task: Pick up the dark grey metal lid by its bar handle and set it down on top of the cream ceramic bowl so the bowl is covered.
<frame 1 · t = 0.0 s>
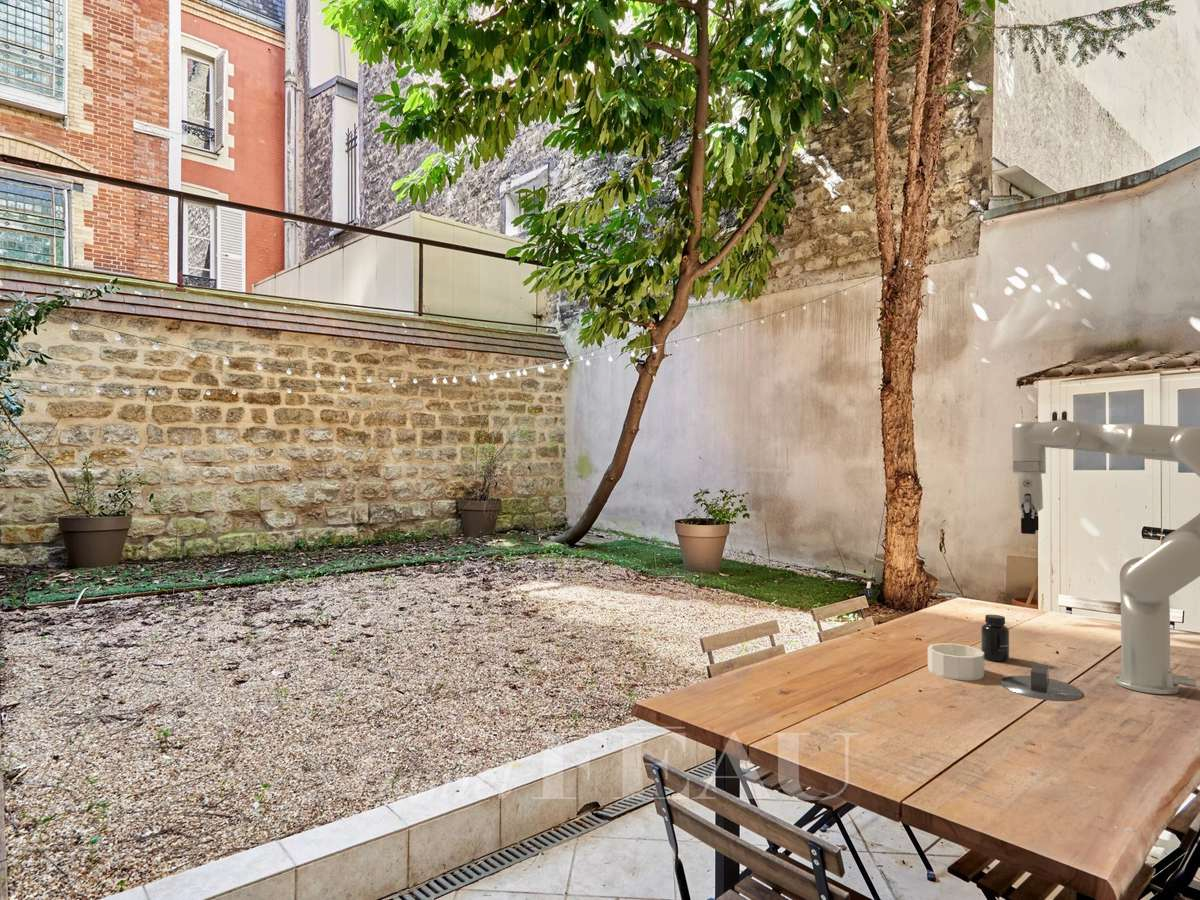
hand: (1029, 531, 184), 37 cm above the table, tool pointing down, fingers open, 9 cm apart
bowl: (955, 672, 182), on the table
lid: (1040, 690, 169), on the table
supplement bottle: (995, 659, 193), on the table
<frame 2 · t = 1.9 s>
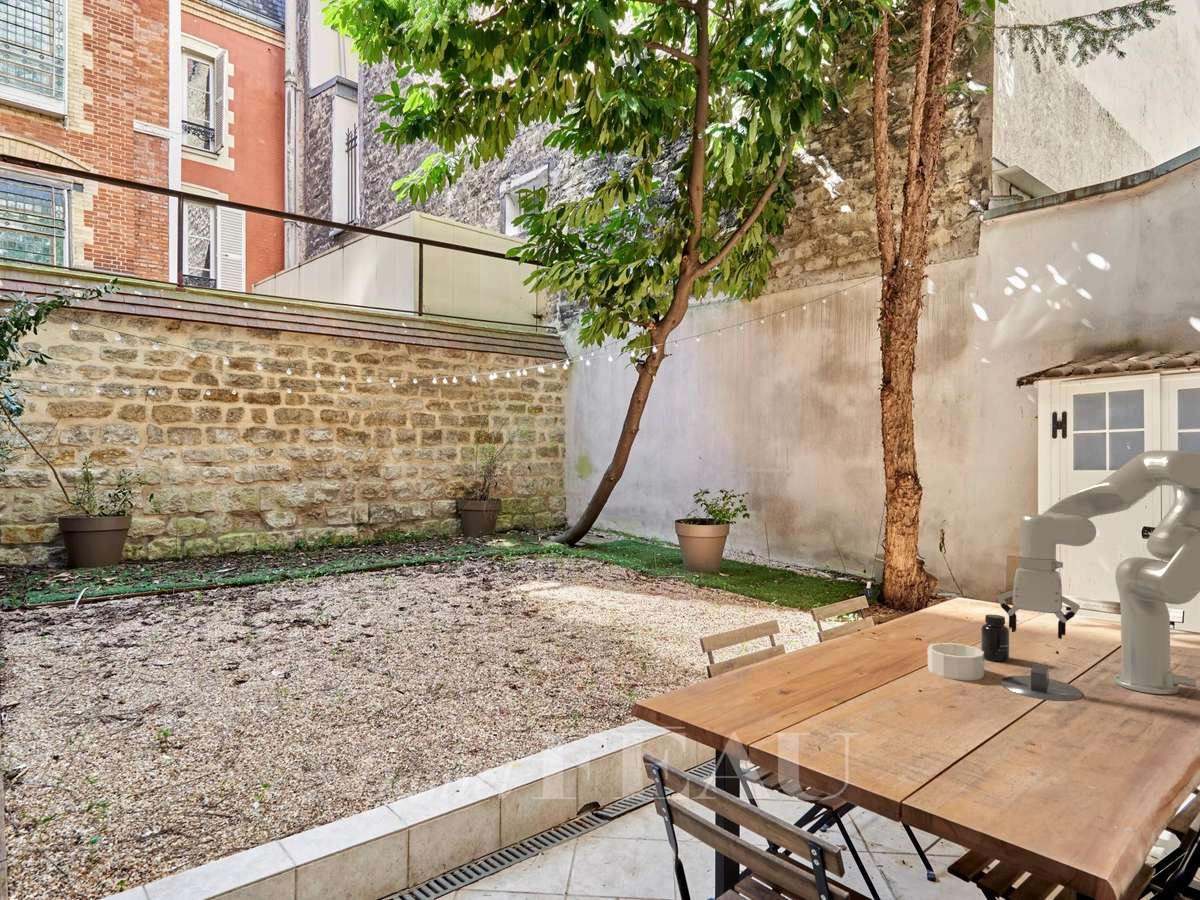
hand: (1036, 634, 169), 13 cm above the table, tool pointing down, fingers open, 9 cm apart
nothing on the table moved.
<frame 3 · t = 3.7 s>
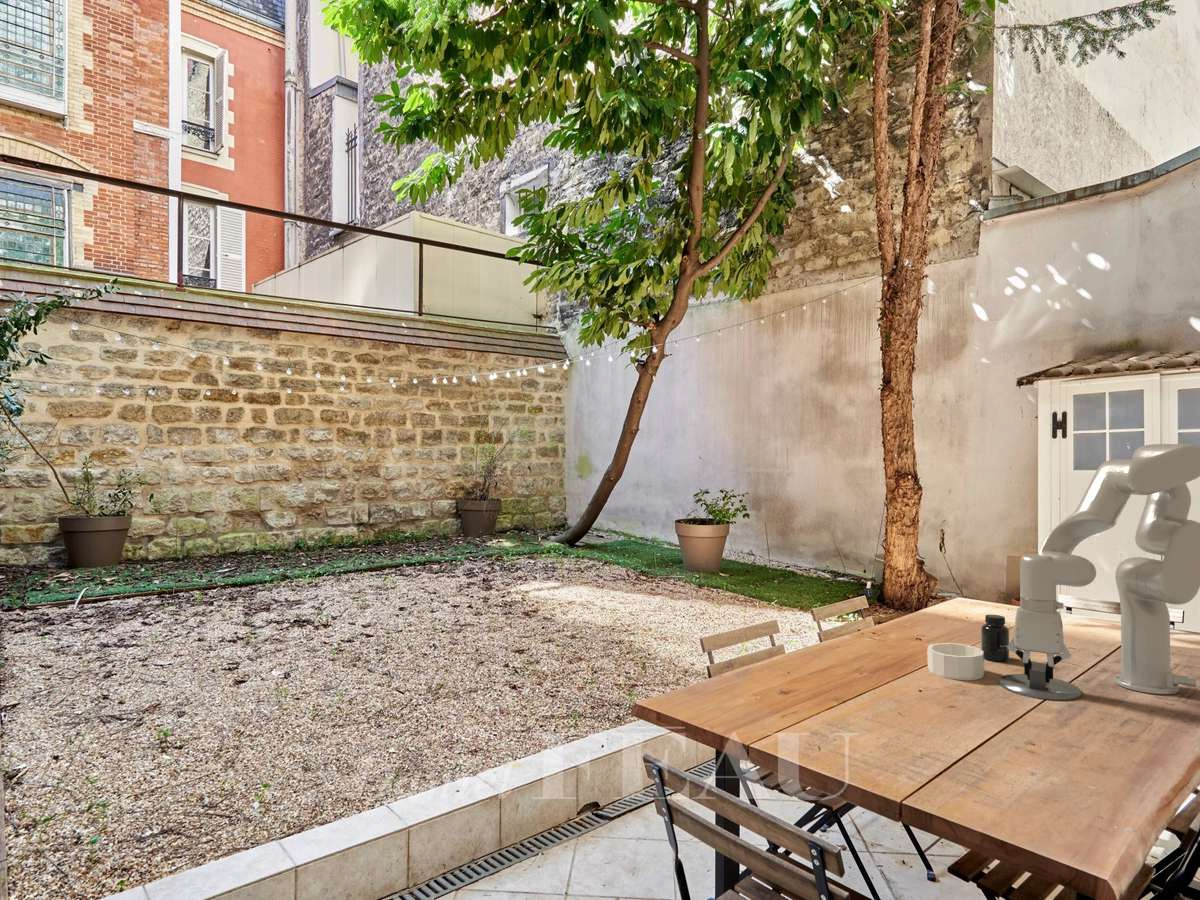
hand: (1038, 679, 169), 2 cm above the table, tool pointing down, fingers closed on lid, 3 cm apart
lid: (1038, 688, 169), on the table, touching gripper
everything else where it was.
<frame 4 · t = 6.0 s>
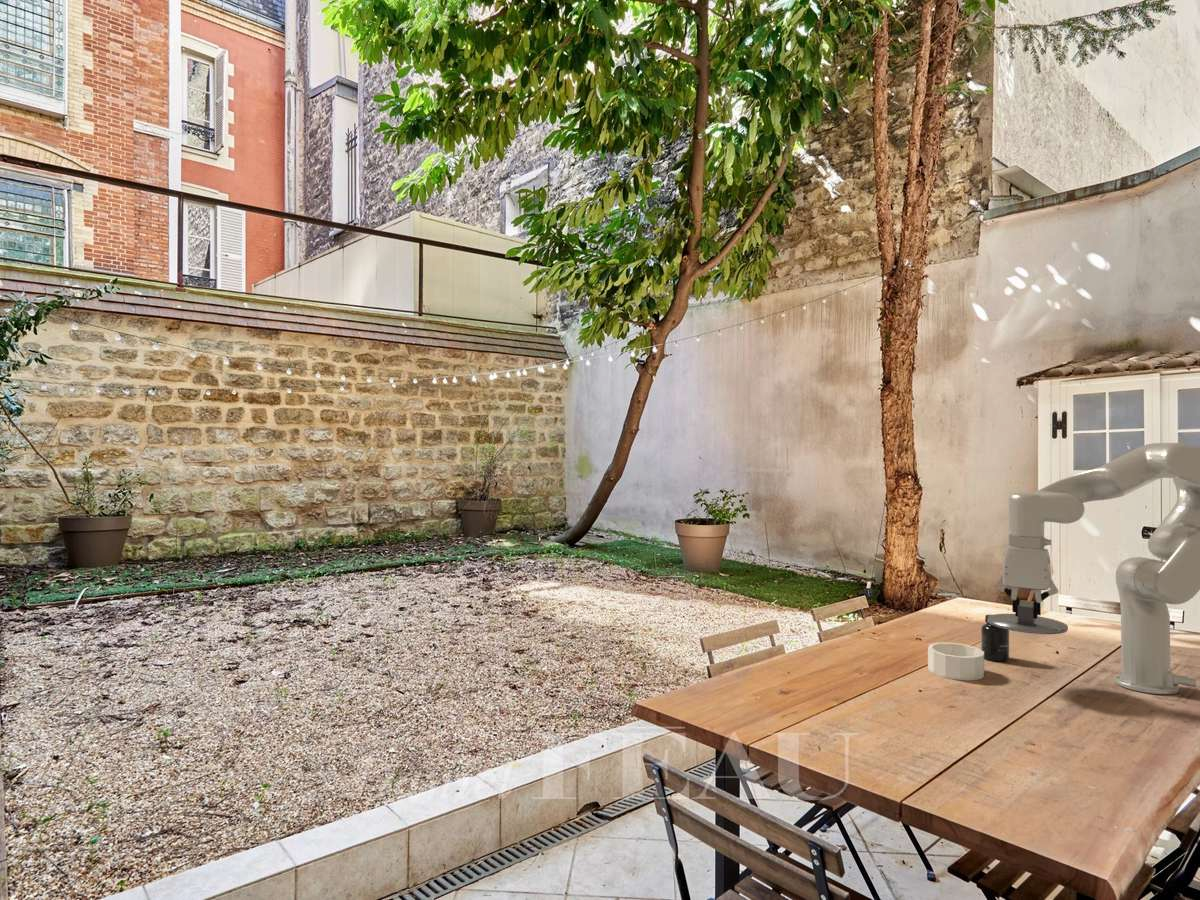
hand: (1026, 615, 171), 17 cm above the table, tool pointing down, fingers closed on lid, 3 cm apart
lid: (1026, 625, 171), point 15 cm above the table, touching gripper
everything else where it was.
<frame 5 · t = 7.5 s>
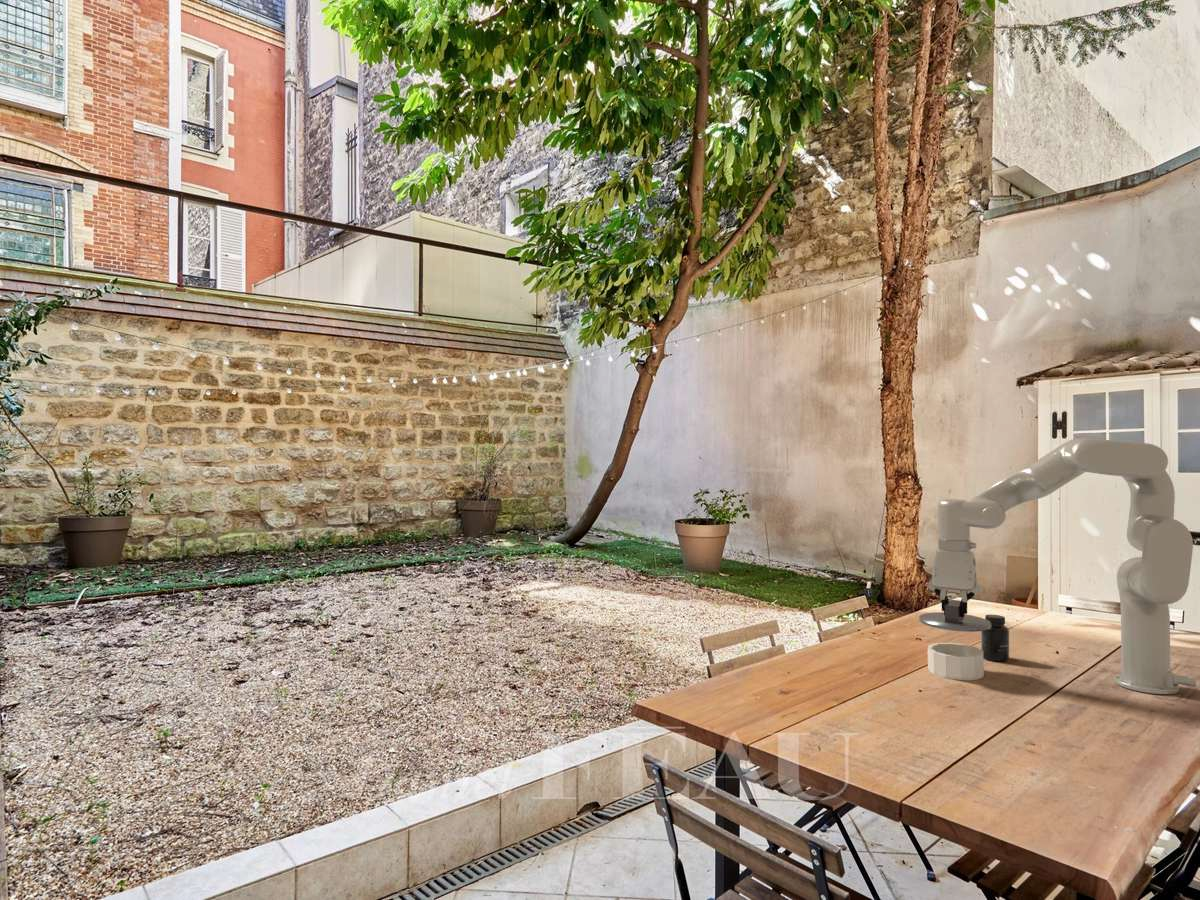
hand: (954, 614, 182), 15 cm above the table, tool pointing down, fingers closed on lid, 3 cm apart
lid: (954, 623, 182), point 13 cm above the table, touching gripper
everything else where it was.
when the fingers open (10 cm above the table, at t = 8.6 s): lid drops 2 cm, resting on bowl.
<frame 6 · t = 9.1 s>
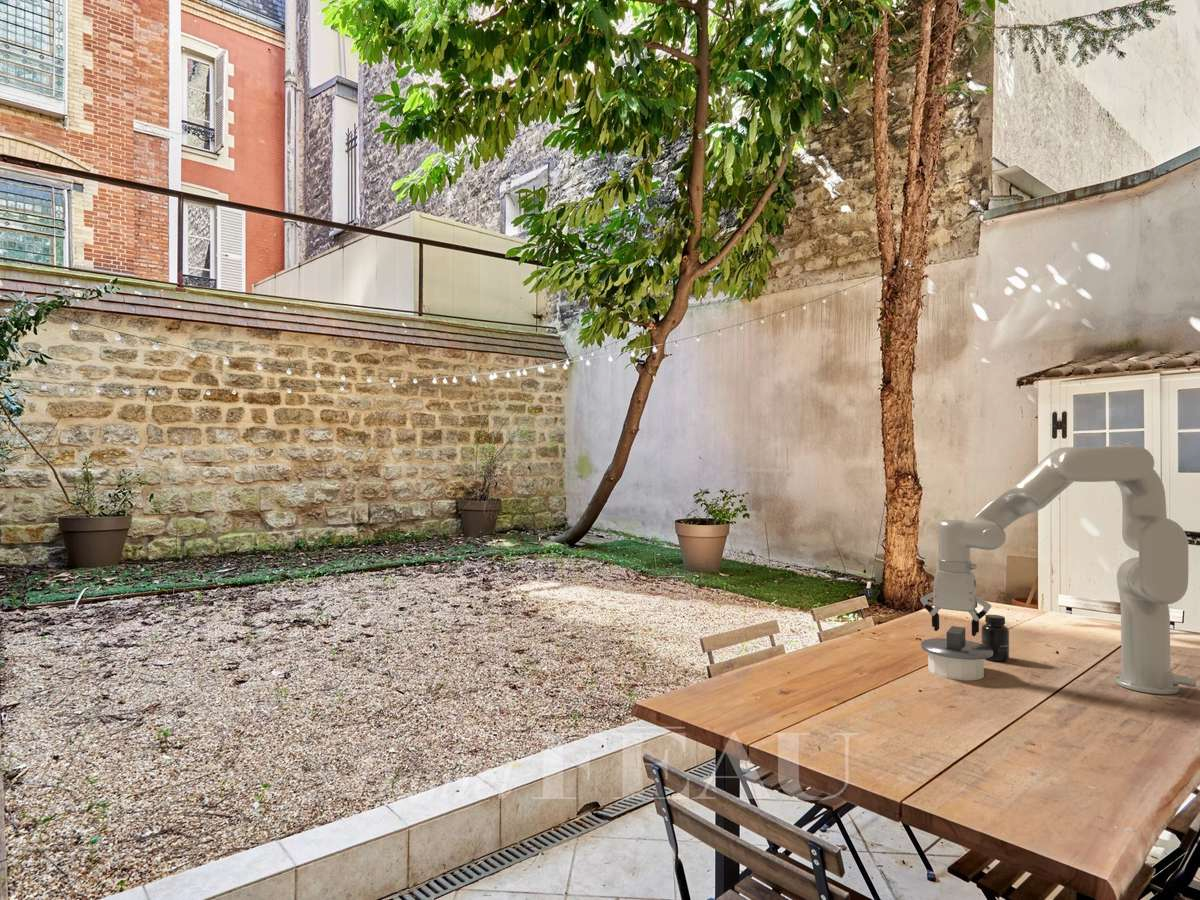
hand: (955, 632, 182), 11 cm above the table, tool pointing down, fingers open, 8 cm apart
bowl: (955, 672, 182), on the table, touching lid
lid: (956, 649, 182), point 6 cm above the table, touching bowl
everything else where it was.
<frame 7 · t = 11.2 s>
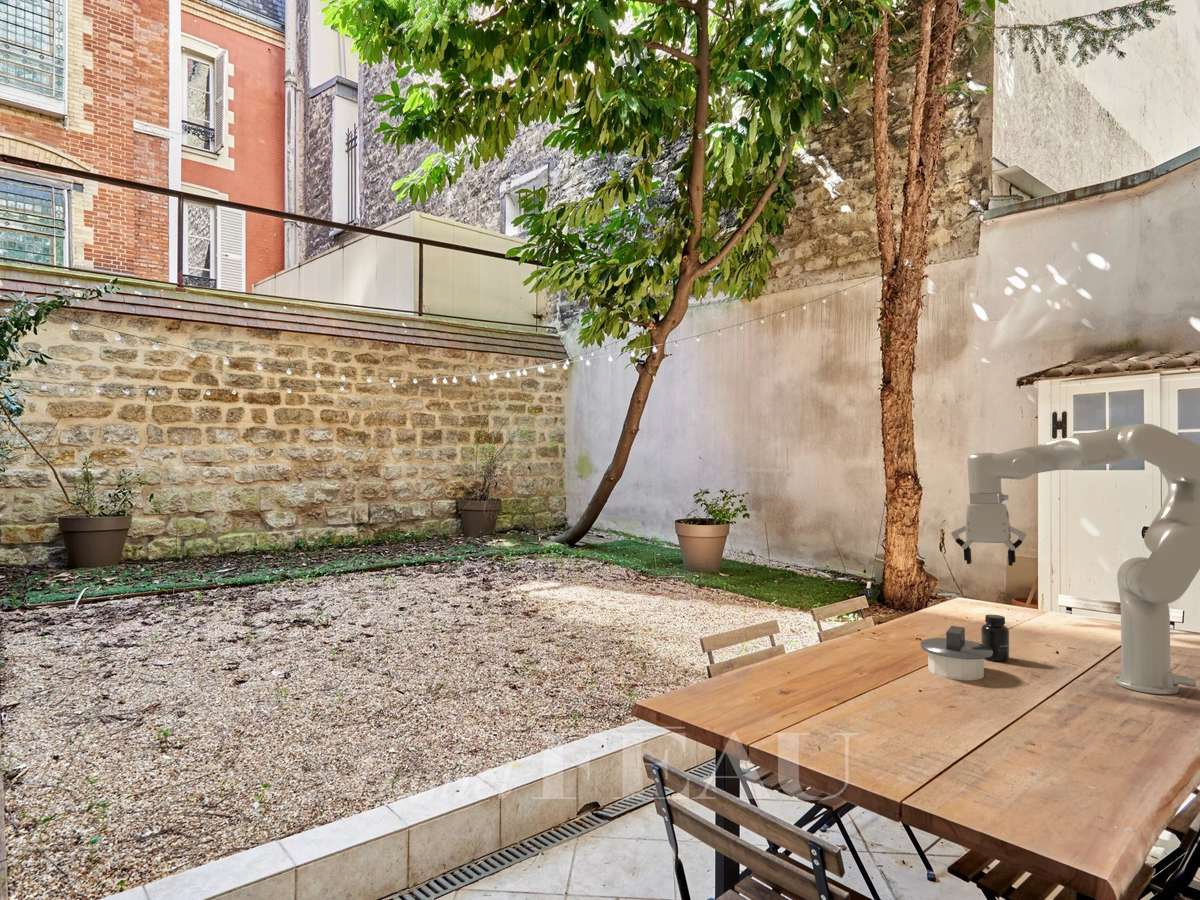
hand: (989, 564, 181), 29 cm above the table, tool pointing down, fingers open, 9 cm apart
nothing on the table moved.
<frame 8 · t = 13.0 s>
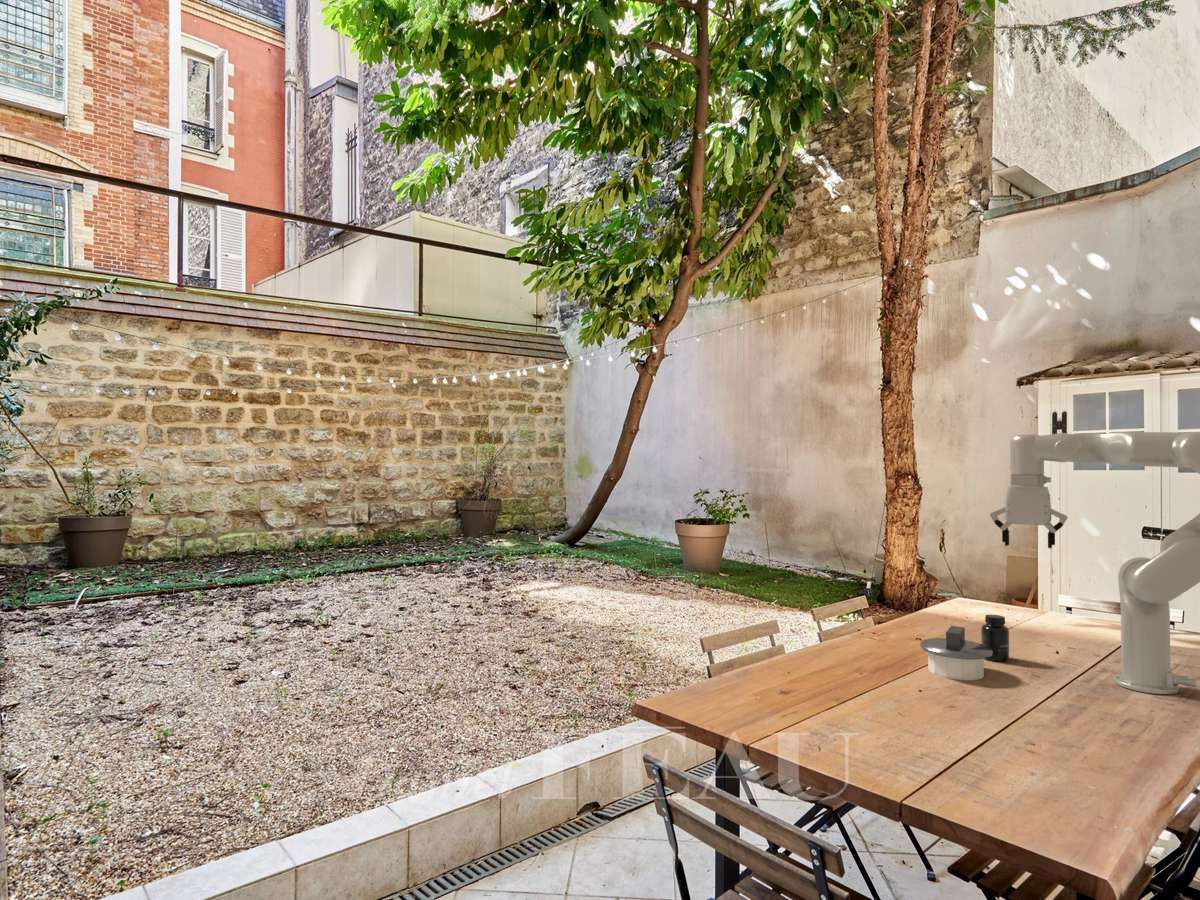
hand: (1028, 546, 181), 33 cm above the table, tool pointing down, fingers open, 9 cm apart
nothing on the table moved.
at the end: lid 0.4 cm off-centre on the bowl, point 6.0 cm above the bowl's base; lid tilted 0°; the gripper is holding nothing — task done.
